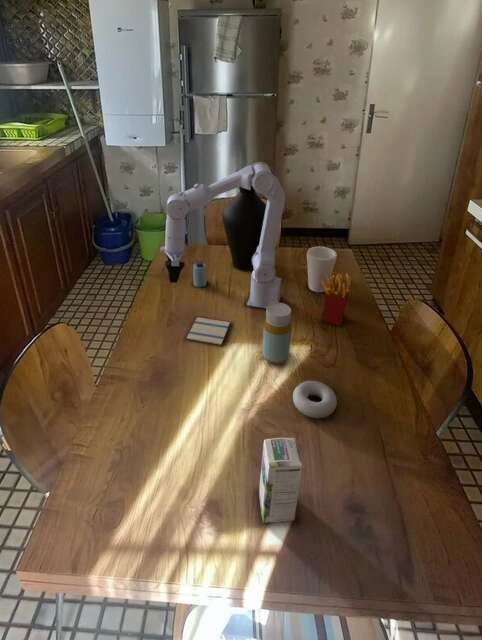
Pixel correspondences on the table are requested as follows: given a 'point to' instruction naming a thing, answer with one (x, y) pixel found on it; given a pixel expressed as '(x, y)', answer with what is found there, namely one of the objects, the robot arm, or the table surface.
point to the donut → (314, 408)
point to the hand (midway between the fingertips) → (173, 275)
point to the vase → (244, 226)
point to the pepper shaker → (199, 274)
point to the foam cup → (320, 267)
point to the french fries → (335, 298)
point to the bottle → (276, 333)
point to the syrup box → (279, 479)
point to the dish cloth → (208, 330)
